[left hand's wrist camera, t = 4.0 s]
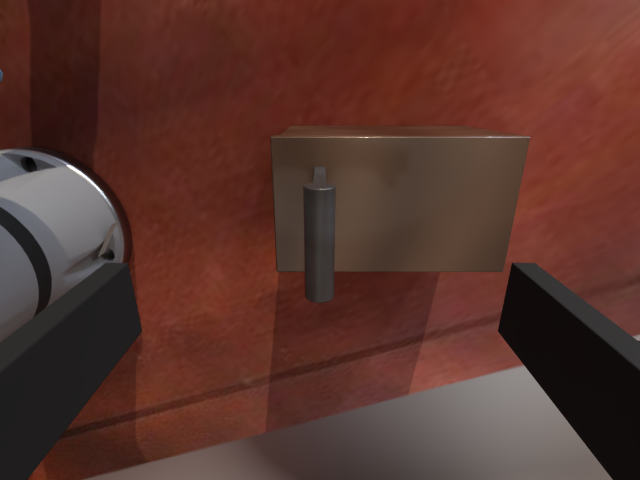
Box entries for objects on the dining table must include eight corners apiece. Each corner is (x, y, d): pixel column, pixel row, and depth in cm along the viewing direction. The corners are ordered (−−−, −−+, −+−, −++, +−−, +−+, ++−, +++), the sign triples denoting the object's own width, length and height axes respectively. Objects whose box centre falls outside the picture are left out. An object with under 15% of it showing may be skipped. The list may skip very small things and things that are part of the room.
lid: (278, 264, 26) (261, 330, 19) (272, 134, 23) (249, 151, 15) (495, 264, 26) (566, 331, 19) (520, 134, 23) (618, 151, 15)
